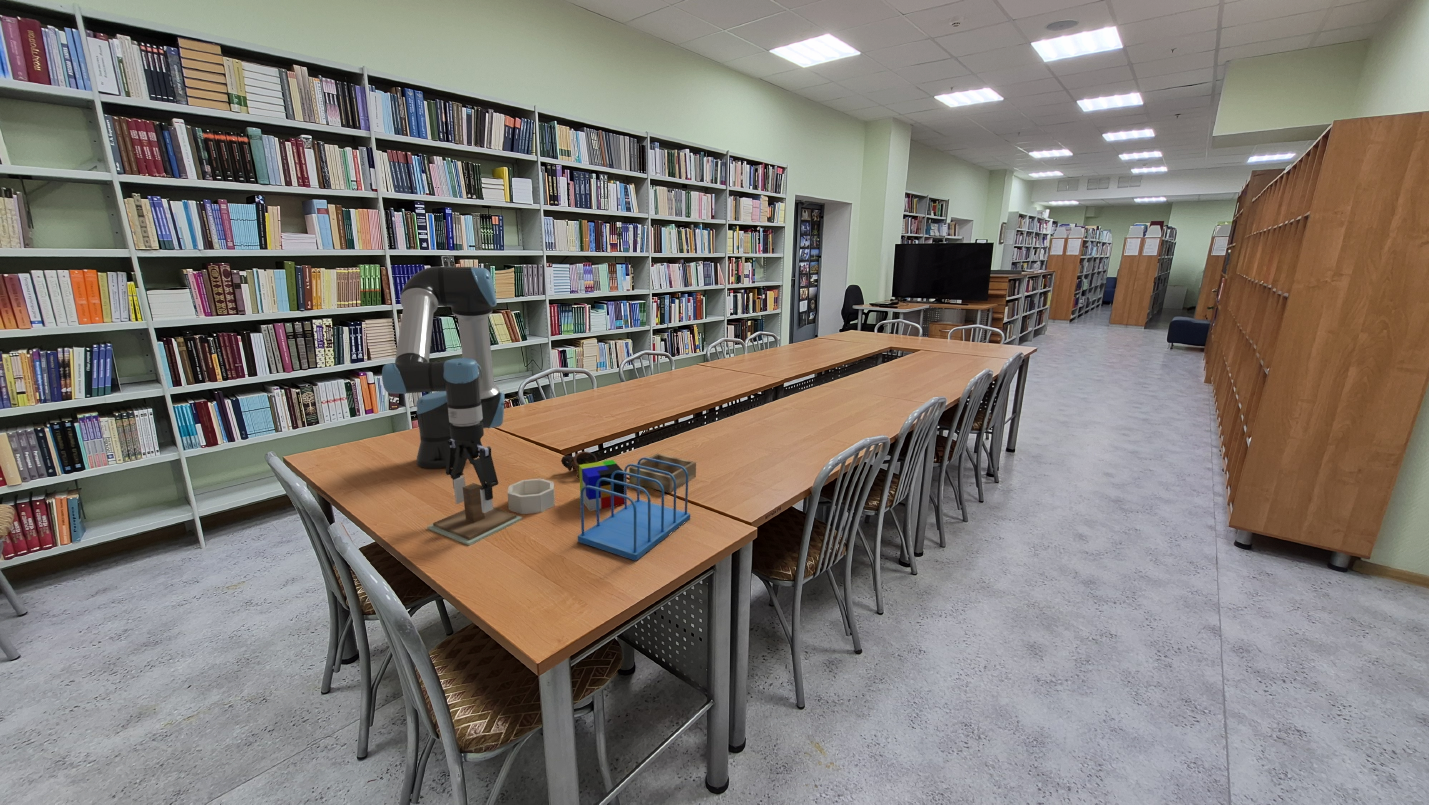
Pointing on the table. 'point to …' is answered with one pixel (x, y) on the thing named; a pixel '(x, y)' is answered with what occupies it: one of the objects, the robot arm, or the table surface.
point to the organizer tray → (663, 479)
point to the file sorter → (634, 518)
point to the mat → (476, 537)
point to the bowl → (531, 496)
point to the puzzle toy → (601, 483)
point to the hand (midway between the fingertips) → (474, 506)
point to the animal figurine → (577, 461)
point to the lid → (473, 516)
